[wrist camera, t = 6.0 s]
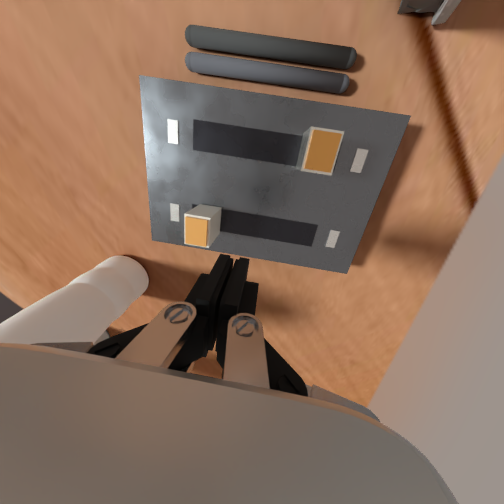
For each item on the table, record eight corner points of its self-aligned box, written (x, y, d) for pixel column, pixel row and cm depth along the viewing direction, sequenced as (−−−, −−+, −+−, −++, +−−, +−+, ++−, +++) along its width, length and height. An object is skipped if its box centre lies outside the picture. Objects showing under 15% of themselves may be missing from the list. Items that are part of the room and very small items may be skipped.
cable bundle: (188, 29, 18) (182, 19, 17) (355, 52, 18) (361, 44, 17) (188, 73, 20) (182, 67, 19) (343, 96, 19) (348, 92, 18)
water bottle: (137, 249, 29) (-348, 568, 6) (158, 289, 32) (-128, 612, 9) (97, 258, 30) (-417, 548, 8) (121, 296, 33) (-208, 592, 10)
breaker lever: (200, 203, 22) (182, 214, 18) (221, 207, 22) (209, 218, 18) (199, 229, 23) (183, 244, 19) (219, 233, 23) (207, 249, 19)
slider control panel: (156, 86, 21) (96, 47, 13) (392, 121, 20) (457, 101, 13) (164, 232, 27) (126, 257, 20) (339, 262, 27) (362, 299, 20)
